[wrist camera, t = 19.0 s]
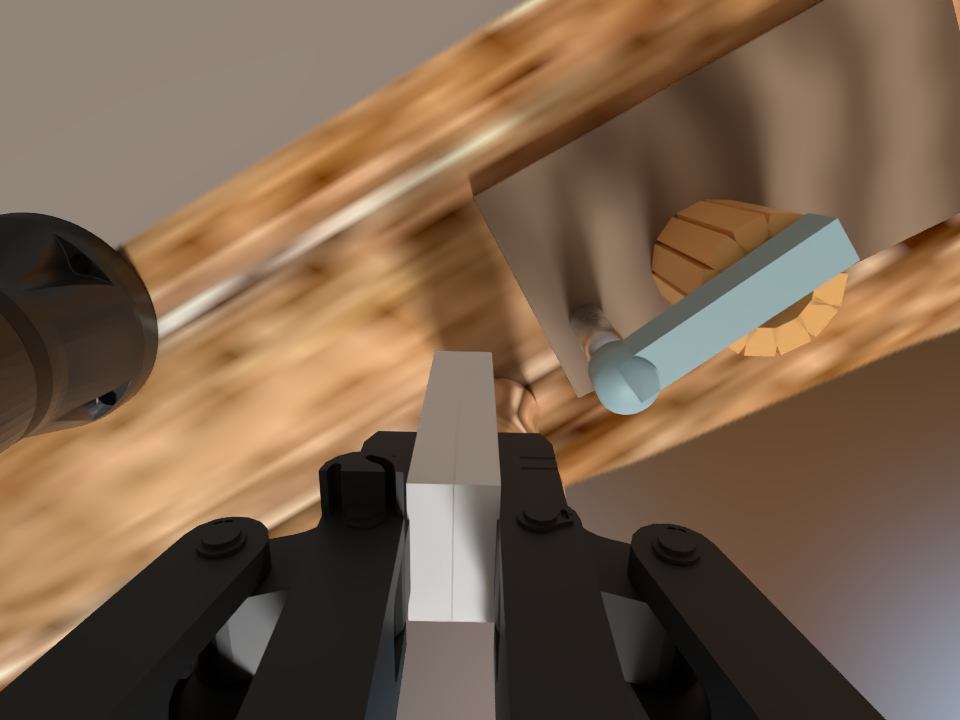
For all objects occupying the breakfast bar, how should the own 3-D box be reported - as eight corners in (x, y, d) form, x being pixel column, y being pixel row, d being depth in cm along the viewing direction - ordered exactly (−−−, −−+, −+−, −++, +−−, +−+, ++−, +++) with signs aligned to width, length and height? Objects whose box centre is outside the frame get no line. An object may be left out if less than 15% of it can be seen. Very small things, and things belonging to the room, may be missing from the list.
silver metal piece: (578, 342, 41) (605, 393, 33) (563, 313, 41) (587, 357, 32) (729, 267, 40) (799, 300, 31) (716, 235, 39) (784, 259, 30)
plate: (575, 390, 44) (578, 397, 43) (473, 195, 40) (473, 197, 38) (979, 192, 40) (998, 194, 38) (918, -55, 35) (937, -63, 33)
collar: (677, 332, 41) (729, 378, 33) (634, 235, 39) (678, 258, 30) (782, 280, 40) (864, 315, 32) (743, 177, 38) (820, 185, 29)
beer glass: (434, 423, 45) (415, 547, 31) (488, 354, 43) (494, 452, 29) (507, 470, 47) (519, 610, 32) (562, 405, 45) (601, 523, 31)
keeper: (609, 406, 33) (619, 425, 30) (576, 362, 32) (584, 379, 29) (833, 257, 30) (864, 266, 28) (804, 205, 29) (833, 210, 27)
